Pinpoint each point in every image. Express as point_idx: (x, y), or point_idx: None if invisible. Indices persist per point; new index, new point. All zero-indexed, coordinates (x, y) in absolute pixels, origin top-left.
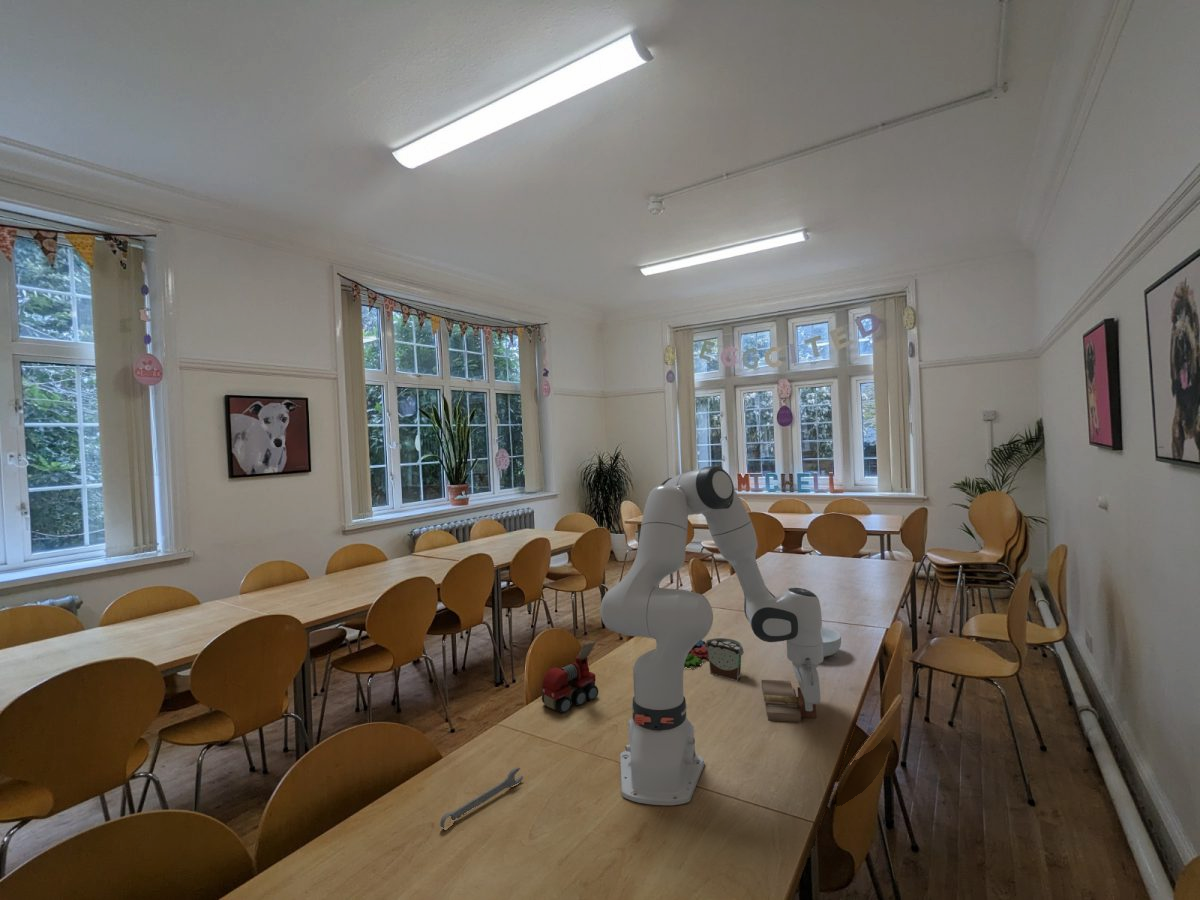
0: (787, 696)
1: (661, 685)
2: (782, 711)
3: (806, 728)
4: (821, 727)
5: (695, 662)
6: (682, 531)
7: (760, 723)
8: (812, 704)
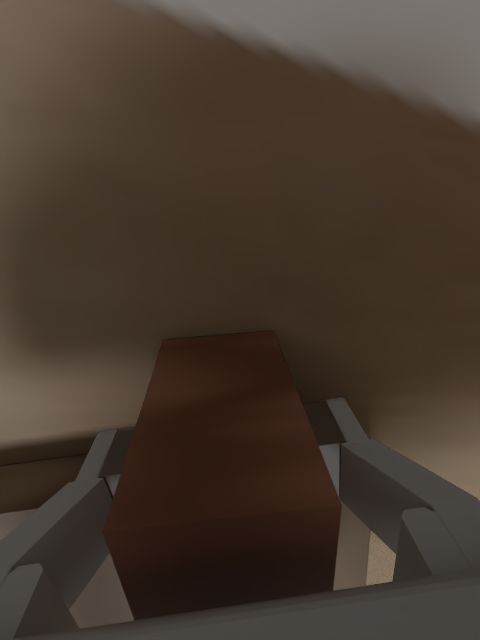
0: None
1: None
2: (345, 548)
3: (432, 388)
4: (419, 298)
5: None
6: None
7: (380, 567)
8: (378, 442)
